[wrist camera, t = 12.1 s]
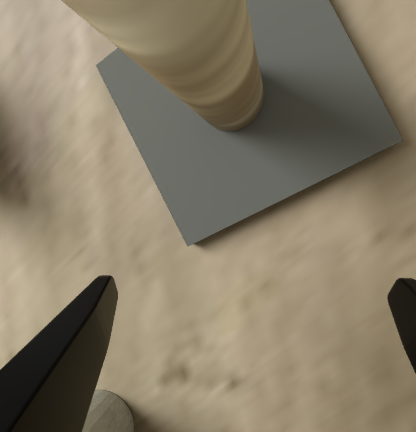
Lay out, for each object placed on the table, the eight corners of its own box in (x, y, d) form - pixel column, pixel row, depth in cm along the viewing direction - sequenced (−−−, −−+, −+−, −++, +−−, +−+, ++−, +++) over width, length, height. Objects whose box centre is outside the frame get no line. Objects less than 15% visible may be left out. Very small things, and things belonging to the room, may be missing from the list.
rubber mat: (396, 142, 16) (403, 140, 15) (192, 243, 20) (187, 246, 19) (284, -69, 16) (284, -85, 15) (104, 71, 20) (95, 65, 19)
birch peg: (277, 81, 16) (261, -195, 4) (242, 143, 17) (152, 50, 5) (219, 52, 17) (72, -256, 5) (189, 113, 18) (2, -29, 6)
